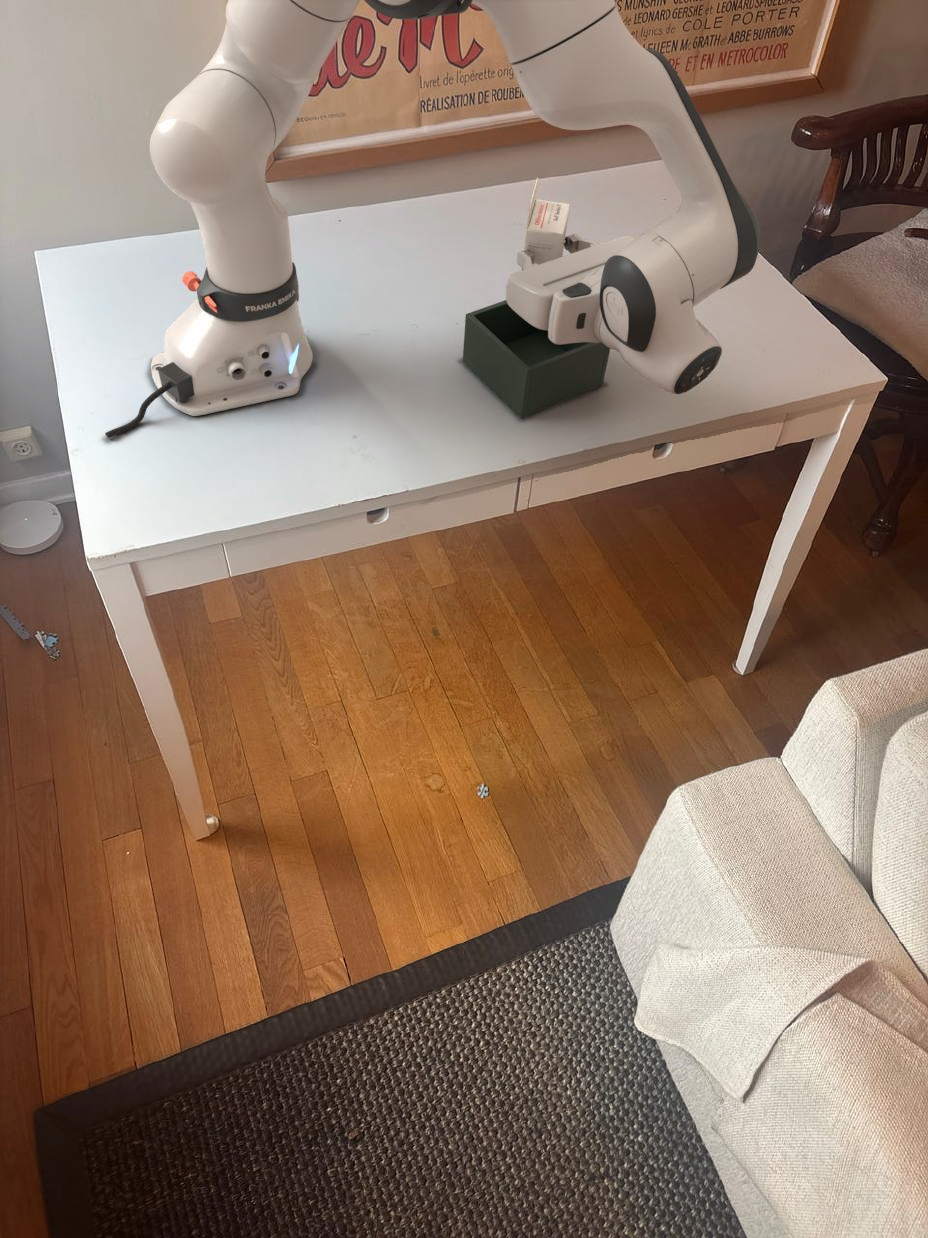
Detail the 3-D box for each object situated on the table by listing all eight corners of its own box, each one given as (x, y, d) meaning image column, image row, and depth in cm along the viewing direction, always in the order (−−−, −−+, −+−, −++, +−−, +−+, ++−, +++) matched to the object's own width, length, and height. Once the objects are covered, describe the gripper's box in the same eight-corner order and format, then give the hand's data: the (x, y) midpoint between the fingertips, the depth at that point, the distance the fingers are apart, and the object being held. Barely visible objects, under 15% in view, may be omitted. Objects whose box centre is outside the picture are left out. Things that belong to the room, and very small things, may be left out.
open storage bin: (521, 418, 133) (527, 371, 127) (462, 361, 140) (465, 313, 134) (602, 384, 139) (612, 338, 132) (542, 331, 146) (549, 284, 139)
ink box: (552, 317, 129) (567, 211, 118) (516, 312, 130) (527, 205, 118) (559, 283, 135) (574, 179, 124) (524, 278, 135) (536, 174, 124)
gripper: (682, 255, 119) (611, 204, 126) (550, 303, 111) (483, 245, 118) (670, 300, 124) (603, 248, 131) (544, 349, 116) (479, 291, 123)
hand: (545, 247), depth 124 cm, fingers closed on ink box, 6 cm apart
